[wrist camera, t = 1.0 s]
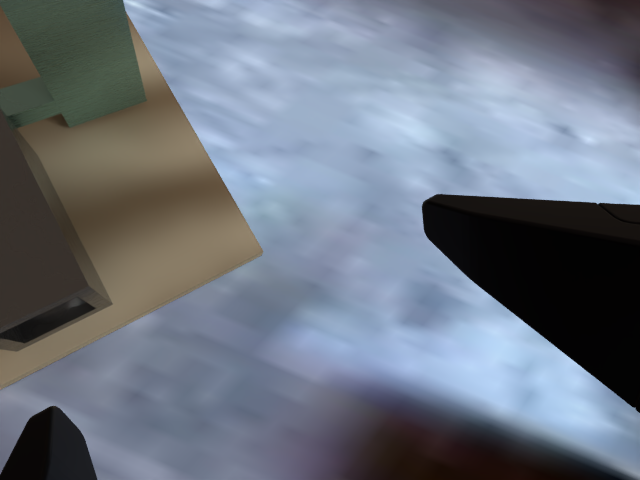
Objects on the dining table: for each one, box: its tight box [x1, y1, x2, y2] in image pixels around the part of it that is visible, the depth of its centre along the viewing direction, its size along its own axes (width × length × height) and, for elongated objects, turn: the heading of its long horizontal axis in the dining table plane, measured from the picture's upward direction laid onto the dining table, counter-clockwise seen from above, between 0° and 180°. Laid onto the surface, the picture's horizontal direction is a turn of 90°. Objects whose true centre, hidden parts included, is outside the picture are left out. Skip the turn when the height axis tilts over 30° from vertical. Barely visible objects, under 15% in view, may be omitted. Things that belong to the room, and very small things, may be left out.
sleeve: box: [0, 108, 113, 352], centre depth 19 cm, size 8×4×4 cm, turn 31°
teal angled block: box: [0, 0, 147, 128], centre depth 17 cm, size 13×9×11 cm
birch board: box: [0, 6, 263, 390], centre depth 23 cm, size 22×14×1 cm, turn 31°
